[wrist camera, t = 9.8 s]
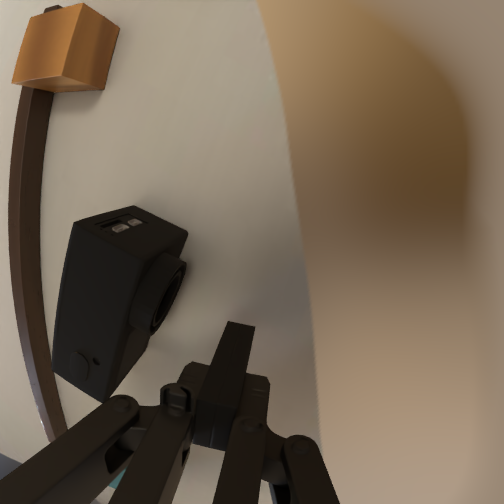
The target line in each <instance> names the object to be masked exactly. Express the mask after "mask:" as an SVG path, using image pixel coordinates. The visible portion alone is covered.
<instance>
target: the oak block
mask: <svg viewBox="0 0 504 504" xmlns="http://www.w3.org/2000/svg"><path fill="white" fill-rule="evenodd" d="M119 29H120V28H119V27H118V26H117V25H115V24H114V23H112V22H111V21H109V20H108V19H107V18H105V17H104V16H102V15H101V14H99V13H98V12H96V11H95V10H93V9H92V8H90V7H89V6H87V5H86V4H84V3H80V4H76V5H72V6H68V7H64V8H60V9H57V10H53V11H50V12H46V13H43V14H40V15H37V16H34V17H31V18H30V20H29V23H28V26H27V29H26V32H25V35H24V38H23V42H22V45H21V48H20V52H19V55H18V59H17V62H16V66H15V70H14V74H13V79H12V84H17V85H22V86H27V87H32V88H36V89H41V90H45V91H50V92H54V93H57V92H70V91H86V90H104V88H105V84H106V79H107V75H108V70H109V66H110V62H111V58H112V54H113V51H114V47H115V43H116V40H117V36H118V33H119Z"/></svg>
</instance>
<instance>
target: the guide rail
mask: <svg viewBox="0 0 504 504" xmlns="http://www.w3.org/2000/svg"><path fill="white" fill-rule="evenodd" d="M60 8H63V7H61V6H59V5H55V6H52V7H49V8H46V9H45V10H44V13H46V12H50V11H53V10H57V9H60ZM53 94H54V92H50V91H45V90H41V89H36V88H32V87H27V86H22V90H21V95H20V100H19V105H18V111H17V116H16V123H15V129H14V137H13V145H12V154H11V165H10V178H9V201H8V234H9V257H10V271H11V282H12V291H13V299H14V307H15V314H16V320H17V326H18V332H19V337H20V342H21V347H22V352H23V356H24V361H25V365H26V369H27V373H28V377H29V381H30V385H31V388H32V392H33V395H34V399H35V402H36V405H37V409H38V412H39V415H40V418H41V421H42V424H43V427H44V430H45V432H46V435H47V438H48V440H49V442H53V441H54V440H55V439H57V438H58V437H59V436H61V435H62V434H63V433H65V432H66V431H67V427H66V423H65V419H64V416H63V412H62V408H61V404H60V400H59V396H58V392H57V387H56V383H55V378H54V373H53V371H52V369H51V366H52V363H51V358H50V352H49V346H48V339H47V333H46V325H45V317H44V308H43V298H42V286H41V270H40V196H41V180H42V168H43V158H44V149H45V141H46V134H47V127H48V121H49V115H50V109H51V104H52V99H53Z"/></svg>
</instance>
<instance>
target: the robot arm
mask: <svg viewBox="0 0 504 504" xmlns="http://www.w3.org/2000/svg"><path fill="white" fill-rule="evenodd" d="M254 331H255V327H254V326H249V325H245V324H240V323H235V322H230V321H228V322H227V325H226V327H225V330H224V332H223V335H222V337H221V339H220V342H219V344H218V347H217V349H216V352H215V354H214V357H213V359H212V362H211V364H210V366H209V365H205V364H201V363H197V362H193V361H192V362H191V363H189V364H188V365H186V366H185V367H184V369H183V371H182V373H181V375H180V377H179V379H178V381H177V383H170V384H167V385H165V386H163V387H162V388H161V389H160V405H157V406H139V404H138V402H137V401H136V400H135V399H134V398H133V397H130V396H128V395H115V396H113V397H111V398H109V399H108V400H106V401H105V402H104V403H103V404H101V405H100V406H99V407H97V408H96V409H95V410H93V411H92V412H91V413H90V414H88V415H87V416H86V417H84V418H83V419H82V420H80V421H79V422H78V423H77V424H75V425H74V426H73V427H71V428H70V429H69V430H67V431H66V432H65V433H63V434H62V435H61V436H59V437H58V438H57V439H55V440H54V441H53V442H51V443H50V444H49V445H47V446H46V447H45V448H43V449H42V450H41V451H39V452H38V453H37V454H35V455H34V456H33V457H31V458H30V459H29V460H27V461H26V462H25V463H23V464H22V465H20V466H19V467H18V468H16V469H15V470H14V471H13V472H11V473H10V474H8V475H7V476H5V477H4V478H3V479H1V480H0V504H90V503H91V502H92V501H93V500H94V499H95V498H96V497H97V496H98V495H99V494H100V493H101V492H102V491H103V490H104V489H105V488H106V487H107V486H108V485H109V484H110V483H111V482H112V481H113V480H114V479H115V478H116V477H117V476H118V475H119V474H120V473H121V472H122V471H123V470H124V469H125V468H126V467H127V466H128V467H127V468H126V470H125V472H124V474H123V476H122V478H121V480H120V482H119V484H118V486H117V488H116V490H115V491H114V493H113V495H112V497H111V499H110V501H109V503H108V504H172V501H173V498H174V495H175V493H176V490H177V487H178V484H179V481H180V479H181V476H182V473H183V470H184V467H185V464H186V462H187V459H188V456H189V453H190V445H191V442H192V439H193V442H192V444H196V445H200V446H204V447H208V448H213V449H217V450H222V451H226V452H225V456H224V460H223V464H222V468H221V472H220V476H219V480H218V484H217V488H216V492H215V496H214V500H213V503H212V504H258V499H259V492H260V484H261V479H262V480H264V481H267V482H269V488H270V492H271V497H272V501H273V504H340V503H339V500H338V498H337V495H336V492H335V490H334V487H333V484H332V482H331V479H330V477H329V474H328V471H327V469H326V466H325V464H324V461H323V458H322V456H321V453H320V451H319V448H318V446H317V444H316V443H315V441H314V440H312V439H311V438H309V437H307V436H304V435H293V436H290V437H288V438H287V439H286V438H284V437H281V436H279V435H277V434H275V433H274V432H272V431H271V430H270V429H269V427H268V425H267V411H268V402H269V392H270V383H269V381H268V379H267V377H265V376H260V375H255V374H249V373H246V370H247V365H248V361H249V356H250V351H251V346H252V341H253V336H254Z"/></svg>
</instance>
